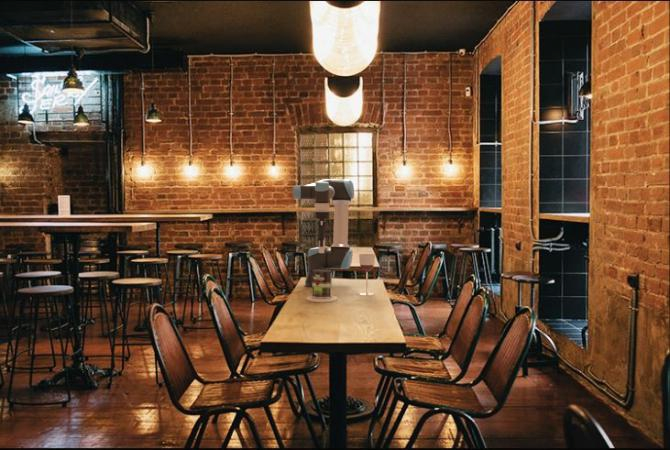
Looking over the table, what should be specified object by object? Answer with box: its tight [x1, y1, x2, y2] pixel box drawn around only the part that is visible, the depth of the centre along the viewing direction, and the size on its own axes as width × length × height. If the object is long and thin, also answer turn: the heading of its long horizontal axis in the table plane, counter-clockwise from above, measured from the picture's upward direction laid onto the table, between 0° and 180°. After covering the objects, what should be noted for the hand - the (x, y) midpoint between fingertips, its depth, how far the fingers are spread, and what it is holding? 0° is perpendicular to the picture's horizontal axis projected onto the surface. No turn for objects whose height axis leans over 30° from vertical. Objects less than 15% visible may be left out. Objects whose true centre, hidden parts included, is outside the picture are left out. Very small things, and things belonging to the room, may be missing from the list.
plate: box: [306, 295, 338, 303], centre depth 313 cm, size 16×16×1 cm
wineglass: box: [358, 253, 376, 296], centre depth 332 cm, size 9×10×22 cm
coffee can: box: [311, 268, 333, 299], centre depth 313 cm, size 10×10×14 cm
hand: (322, 251), depth 316 cm, fingers open, 13 cm apart
